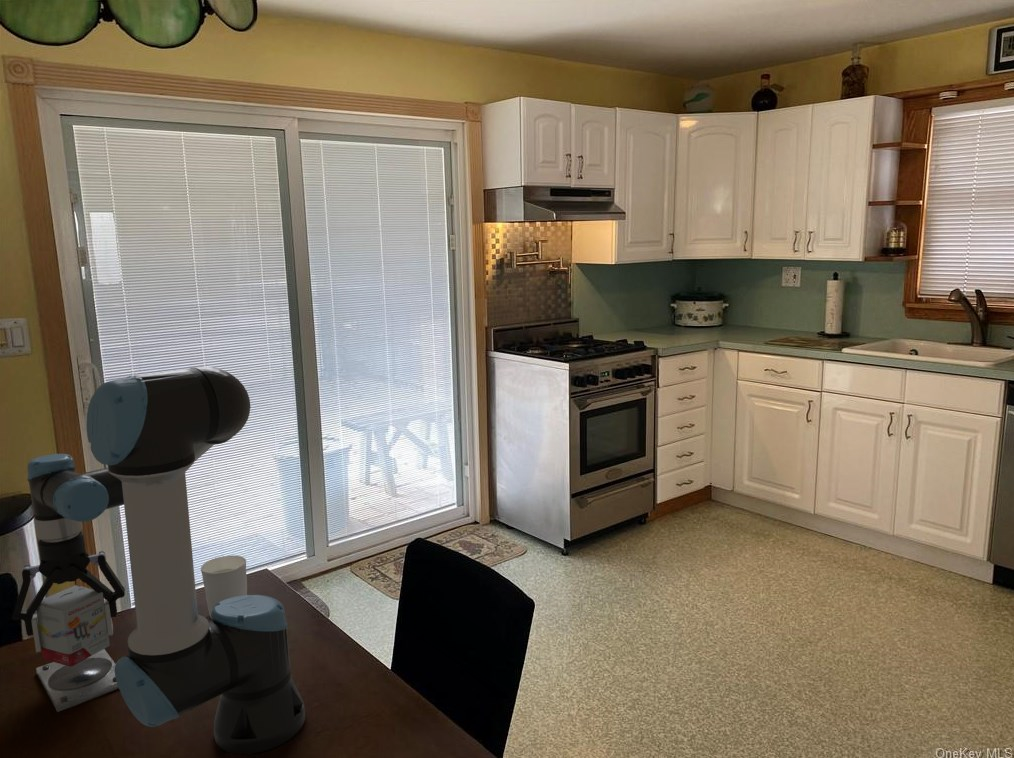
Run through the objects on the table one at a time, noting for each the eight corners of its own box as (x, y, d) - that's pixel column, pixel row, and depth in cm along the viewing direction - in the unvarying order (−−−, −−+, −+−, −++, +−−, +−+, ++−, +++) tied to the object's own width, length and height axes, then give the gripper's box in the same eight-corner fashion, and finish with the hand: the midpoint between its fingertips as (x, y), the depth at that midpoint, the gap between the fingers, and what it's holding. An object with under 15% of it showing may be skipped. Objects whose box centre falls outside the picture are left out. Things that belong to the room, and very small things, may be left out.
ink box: (71, 667, 139) (62, 609, 137) (41, 658, 142) (32, 601, 140) (111, 645, 146) (104, 589, 144) (83, 637, 150) (75, 583, 148)
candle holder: (242, 598, 178) (237, 551, 176) (257, 612, 170) (252, 564, 168) (200, 612, 172) (194, 563, 170) (214, 627, 164) (208, 577, 162)
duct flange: (127, 685, 143) (126, 678, 143) (57, 712, 135) (56, 704, 135) (102, 650, 156) (101, 644, 156) (36, 673, 148) (35, 666, 148)
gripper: (130, 517, 149) (142, 617, 153) (-12, 541, 138) (6, 647, 142) (130, 529, 142) (143, 633, 146) (-18, 555, 132) (0, 666, 136)
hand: (75, 640), depth 144 cm, fingers closed on ink box, 11 cm apart
